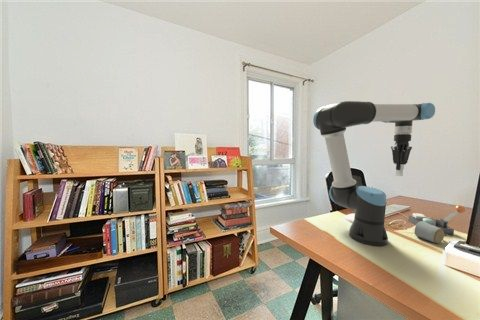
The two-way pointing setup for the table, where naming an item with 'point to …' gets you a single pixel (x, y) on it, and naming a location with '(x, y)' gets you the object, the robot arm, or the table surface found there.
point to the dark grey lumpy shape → (435, 224)
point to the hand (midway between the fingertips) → (399, 175)
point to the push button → (428, 221)
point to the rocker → (418, 216)
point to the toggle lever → (454, 213)
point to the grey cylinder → (429, 232)
